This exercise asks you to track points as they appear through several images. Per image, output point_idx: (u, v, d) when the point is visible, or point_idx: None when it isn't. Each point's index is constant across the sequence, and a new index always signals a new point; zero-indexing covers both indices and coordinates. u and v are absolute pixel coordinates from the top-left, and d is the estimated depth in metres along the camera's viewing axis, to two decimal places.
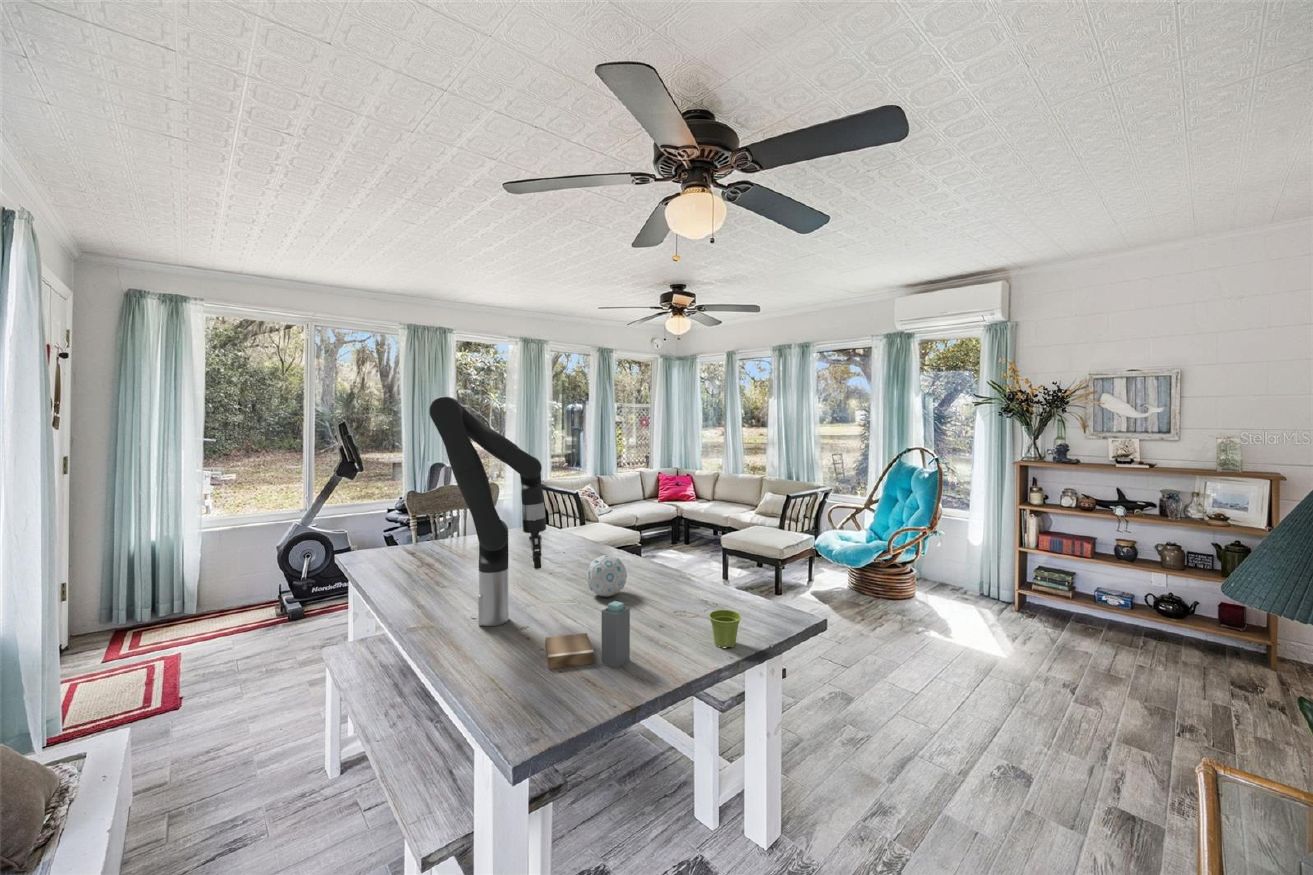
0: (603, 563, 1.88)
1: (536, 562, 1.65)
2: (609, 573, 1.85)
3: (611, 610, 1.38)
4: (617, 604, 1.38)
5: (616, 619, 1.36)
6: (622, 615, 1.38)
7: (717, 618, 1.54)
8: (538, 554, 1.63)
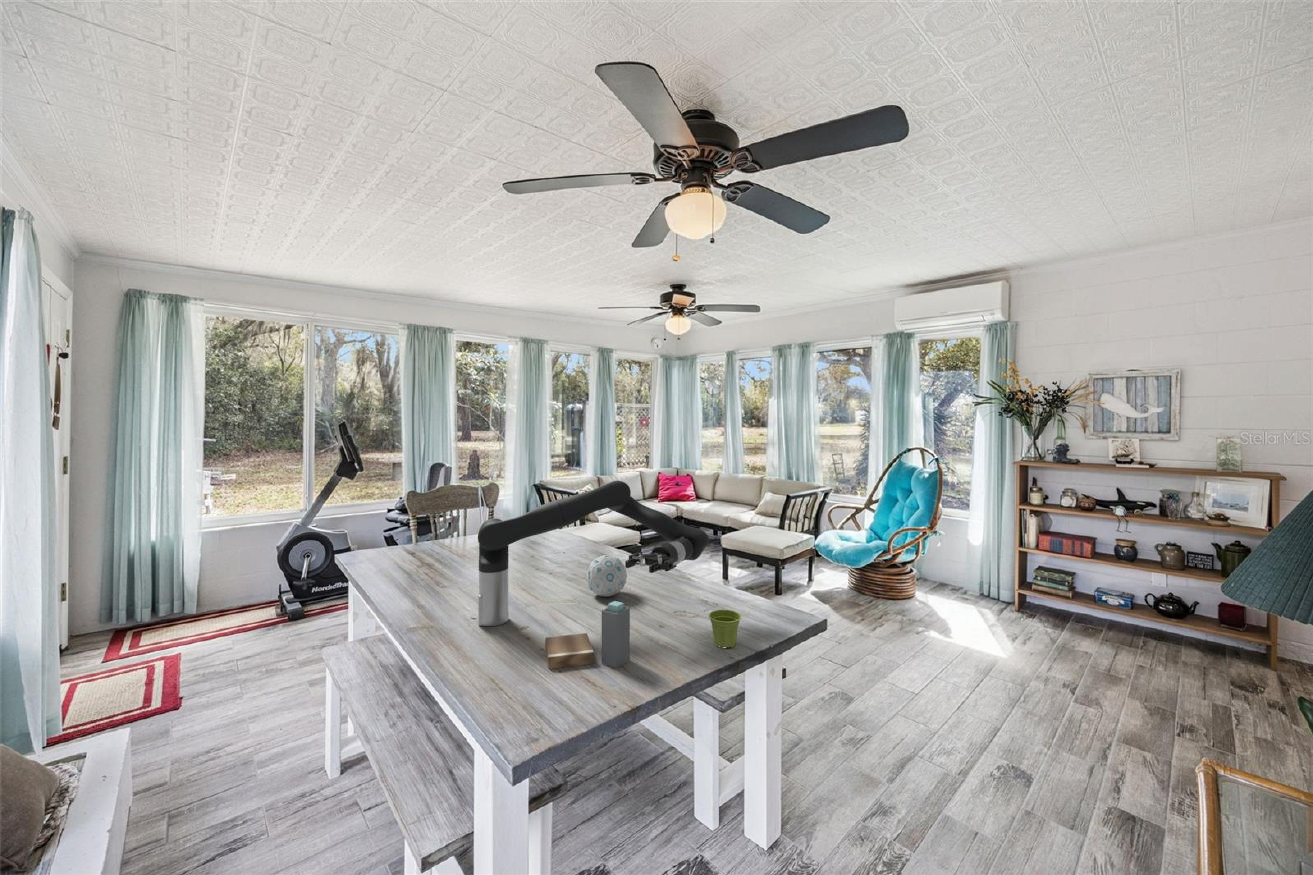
0: (603, 563, 1.88)
1: (657, 566, 1.46)
2: (609, 573, 1.85)
3: (611, 610, 1.38)
4: (617, 604, 1.38)
5: (616, 619, 1.36)
6: (622, 615, 1.38)
7: (717, 618, 1.54)
8: (668, 567, 1.48)
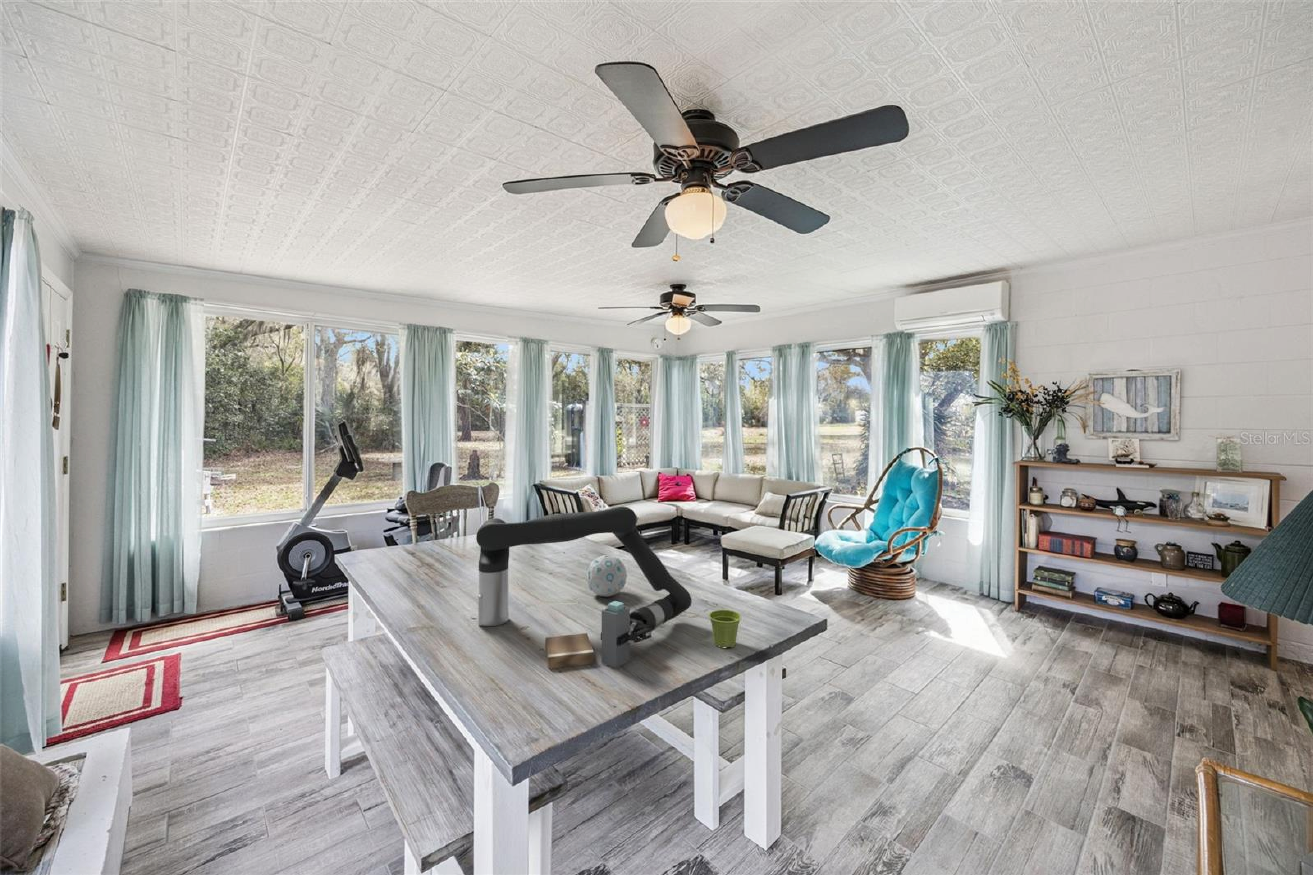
0: (603, 563, 1.88)
1: (626, 638, 1.37)
2: (609, 573, 1.85)
3: (611, 610, 1.38)
4: (617, 604, 1.38)
5: (617, 619, 1.36)
6: (622, 615, 1.38)
7: (717, 618, 1.54)
8: (637, 639, 1.38)
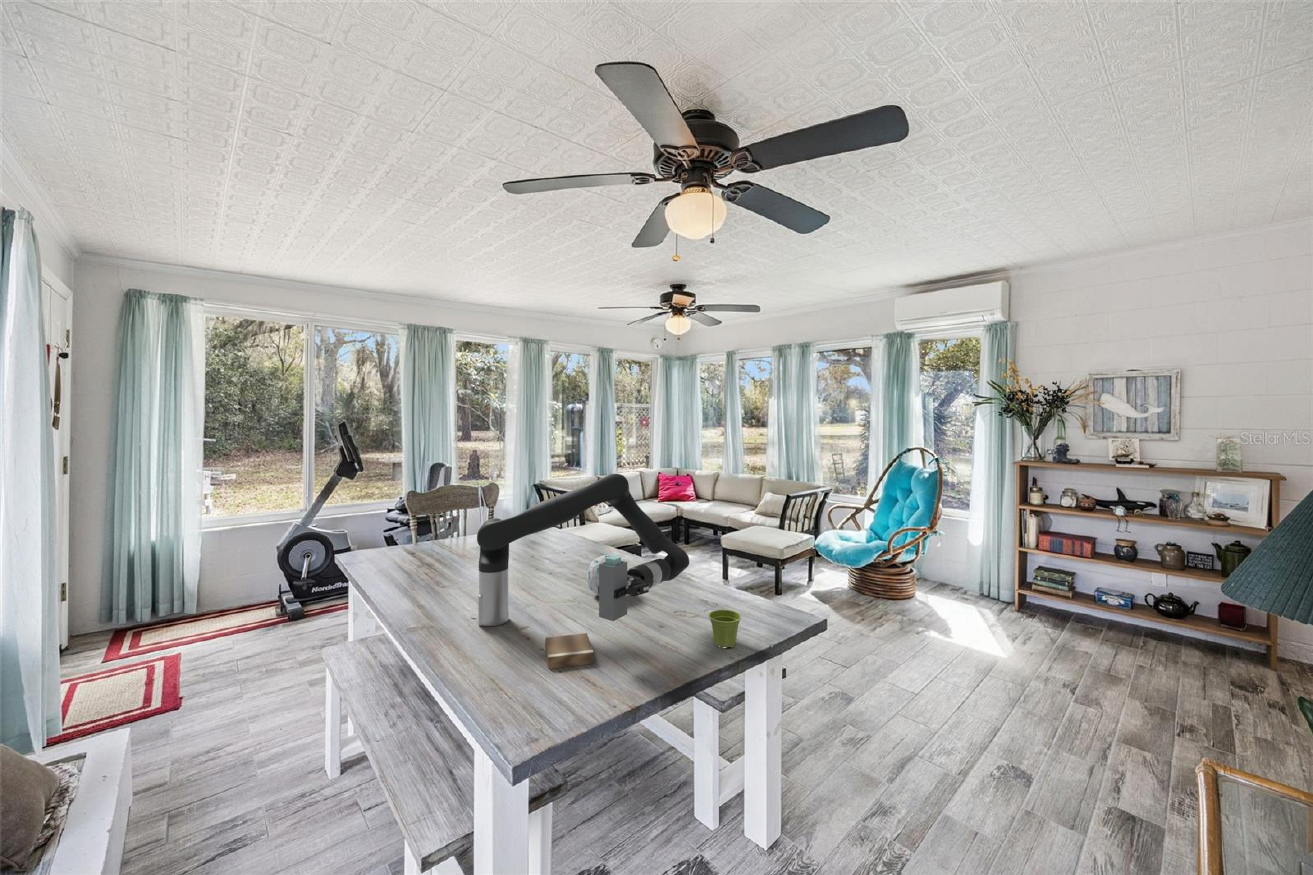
0: None
1: (623, 592, 1.37)
2: None
3: (609, 564, 1.38)
4: (615, 558, 1.38)
5: (614, 572, 1.35)
6: (619, 569, 1.37)
7: (717, 618, 1.54)
8: (634, 592, 1.38)
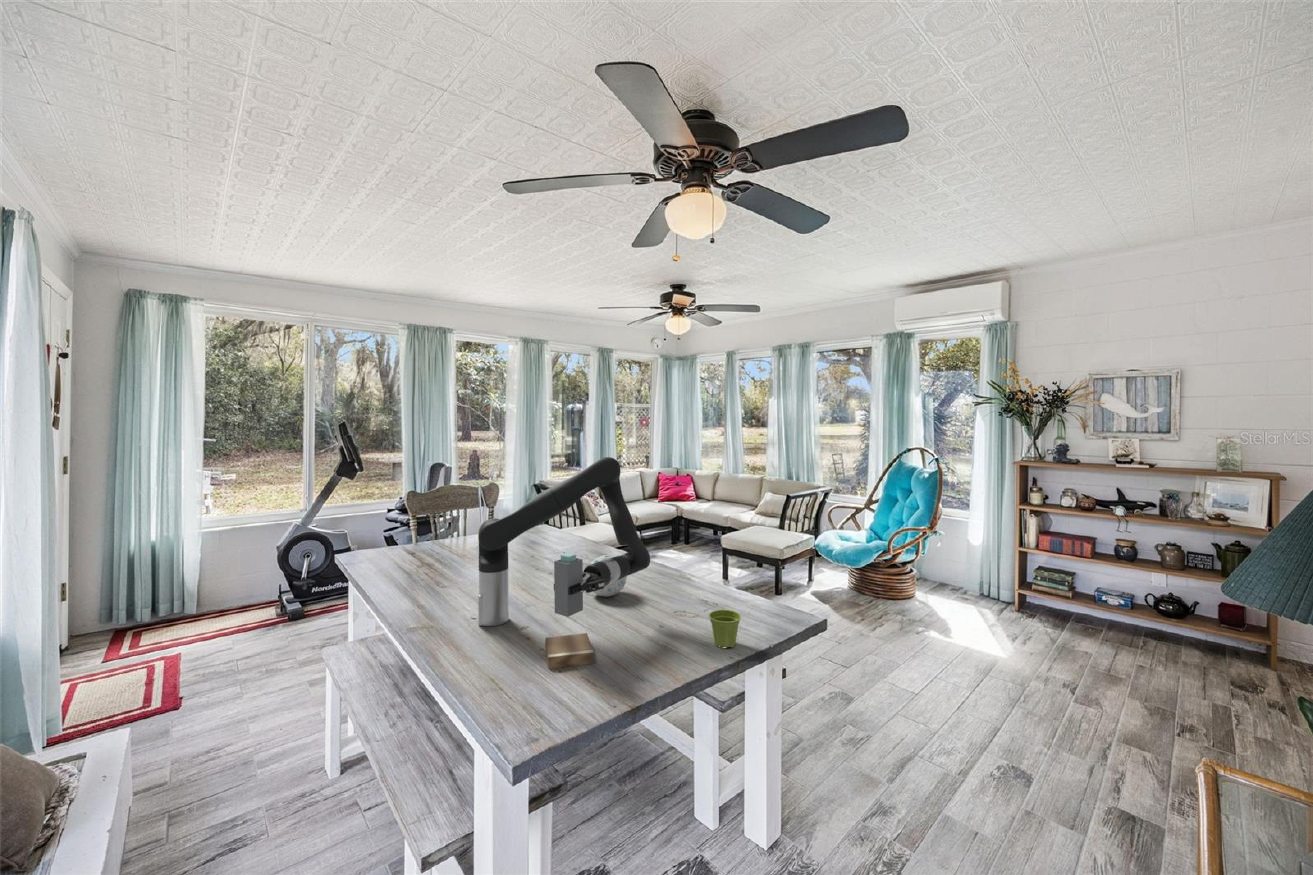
0: None
1: (577, 588, 1.40)
2: None
3: (563, 561, 1.41)
4: (569, 555, 1.42)
5: (568, 569, 1.39)
6: (574, 566, 1.41)
7: (717, 618, 1.54)
8: (589, 589, 1.42)
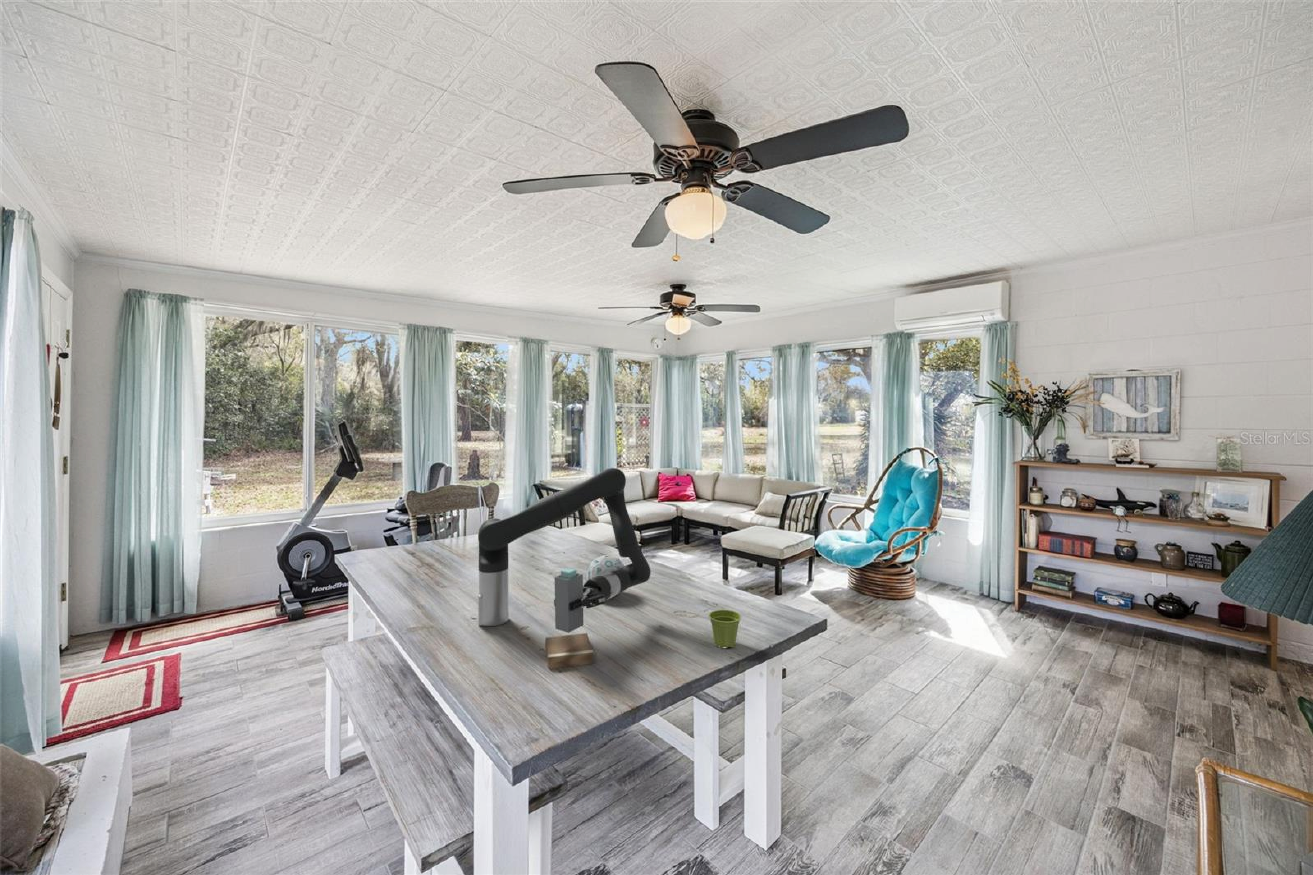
0: (603, 563, 1.88)
1: (578, 604, 1.40)
2: None
3: (564, 577, 1.41)
4: (570, 571, 1.42)
5: (568, 585, 1.39)
6: (574, 582, 1.41)
7: (717, 618, 1.54)
8: (590, 604, 1.42)
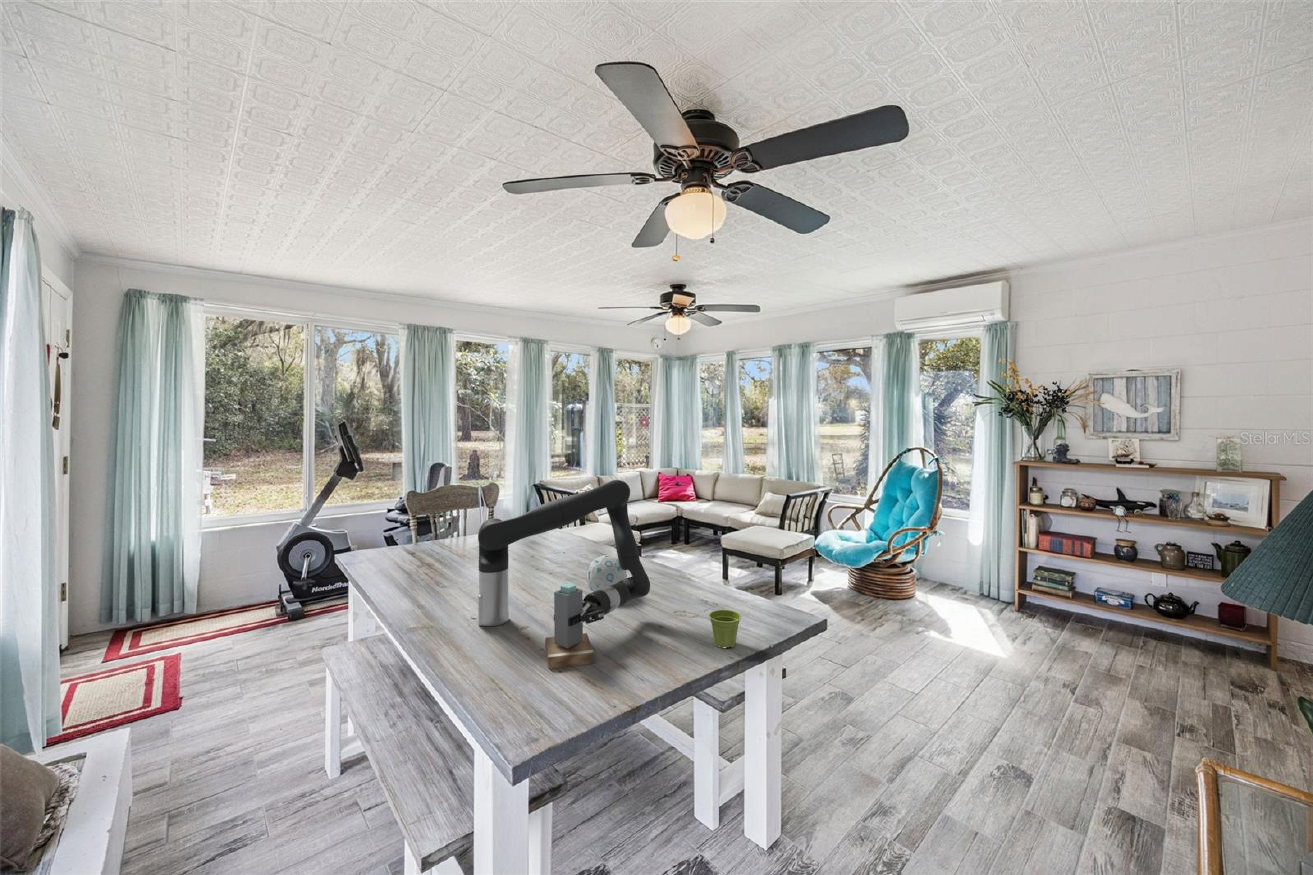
0: (603, 563, 1.88)
1: (577, 619, 1.40)
2: (609, 573, 1.85)
3: (563, 592, 1.41)
4: (569, 586, 1.42)
5: (568, 601, 1.39)
6: (574, 597, 1.41)
7: (717, 618, 1.54)
8: (589, 620, 1.42)
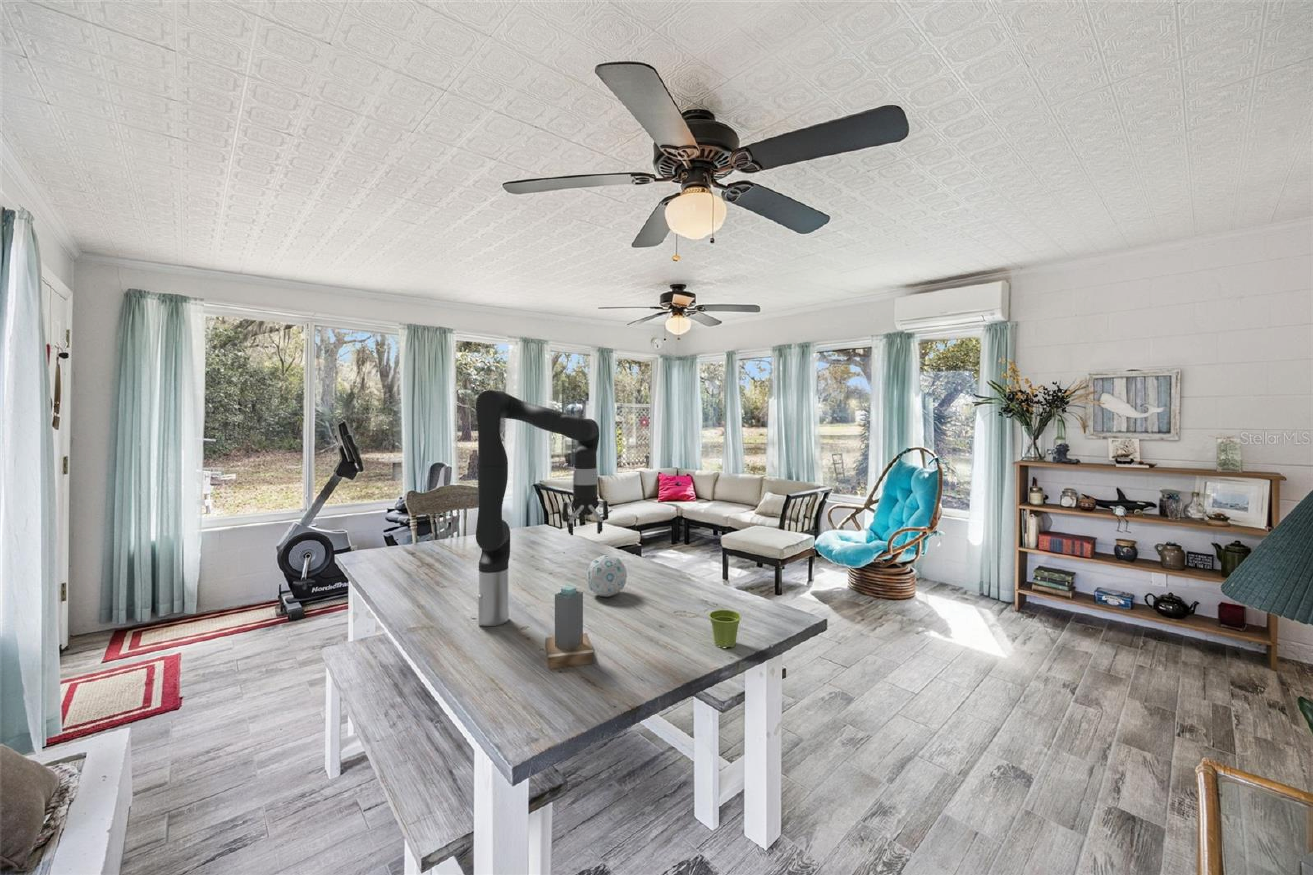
0: (603, 563, 1.88)
1: None
2: (609, 573, 1.85)
3: (564, 594, 1.42)
4: (570, 588, 1.42)
5: (569, 603, 1.39)
6: (574, 599, 1.41)
7: (717, 618, 1.54)
8: None
